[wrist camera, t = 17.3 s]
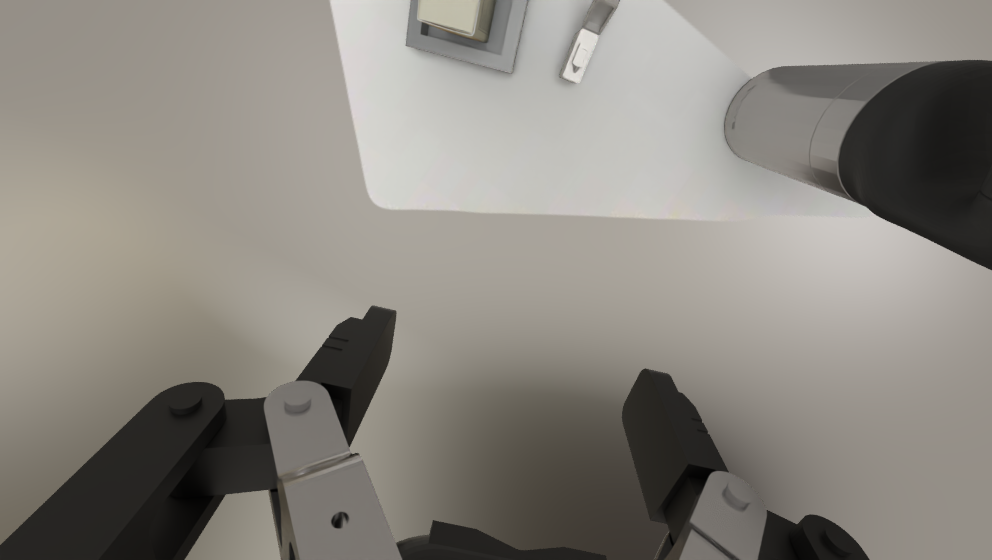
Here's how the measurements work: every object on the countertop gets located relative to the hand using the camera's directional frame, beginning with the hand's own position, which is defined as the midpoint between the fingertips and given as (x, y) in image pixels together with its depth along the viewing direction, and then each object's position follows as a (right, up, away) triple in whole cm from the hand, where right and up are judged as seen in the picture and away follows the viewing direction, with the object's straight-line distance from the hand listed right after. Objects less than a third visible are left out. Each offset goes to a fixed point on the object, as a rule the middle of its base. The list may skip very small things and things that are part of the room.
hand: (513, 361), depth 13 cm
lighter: (+8, +26, +27) cm, 38 cm away
